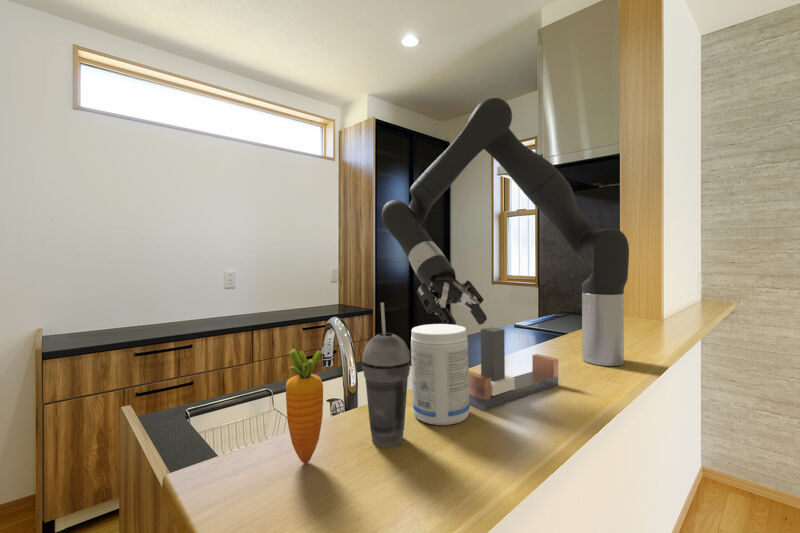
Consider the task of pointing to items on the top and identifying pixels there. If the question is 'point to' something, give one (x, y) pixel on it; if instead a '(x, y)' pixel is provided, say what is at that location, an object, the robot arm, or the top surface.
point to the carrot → (304, 405)
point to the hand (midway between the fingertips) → (468, 324)
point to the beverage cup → (386, 385)
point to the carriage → (495, 360)
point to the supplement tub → (440, 373)
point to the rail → (525, 384)
